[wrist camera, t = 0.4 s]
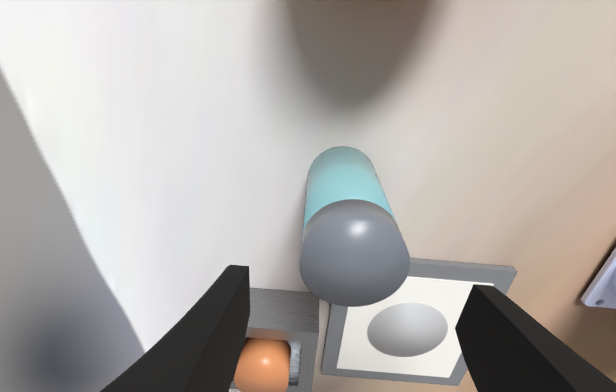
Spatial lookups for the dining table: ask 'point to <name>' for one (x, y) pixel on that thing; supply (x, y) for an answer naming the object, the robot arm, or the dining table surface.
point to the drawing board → (410, 326)
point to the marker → (350, 232)
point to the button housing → (287, 329)
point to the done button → (263, 365)
